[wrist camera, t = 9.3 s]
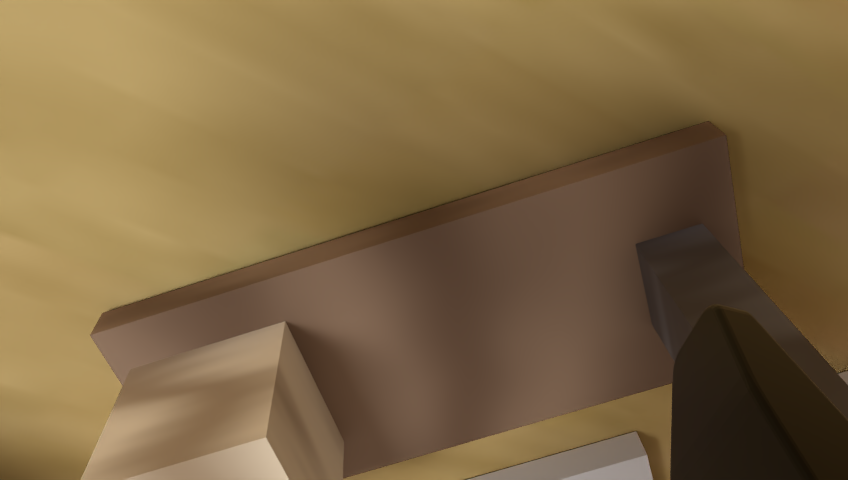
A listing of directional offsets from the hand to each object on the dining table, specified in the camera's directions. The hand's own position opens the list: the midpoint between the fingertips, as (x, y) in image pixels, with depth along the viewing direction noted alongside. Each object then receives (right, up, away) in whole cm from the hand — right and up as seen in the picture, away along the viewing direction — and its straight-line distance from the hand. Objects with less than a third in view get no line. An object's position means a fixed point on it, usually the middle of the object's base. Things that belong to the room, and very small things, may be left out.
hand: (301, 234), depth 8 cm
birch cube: (-4, -5, +16) cm, 17 cm away
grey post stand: (+2, -3, +16) cm, 16 cm away
